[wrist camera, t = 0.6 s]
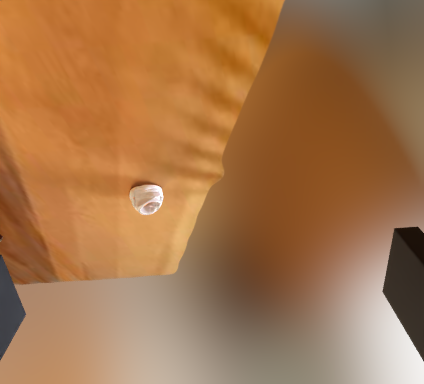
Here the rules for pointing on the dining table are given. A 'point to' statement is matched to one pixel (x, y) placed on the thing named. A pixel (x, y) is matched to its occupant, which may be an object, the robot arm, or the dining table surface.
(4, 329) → the robot arm
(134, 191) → the white rounded lump
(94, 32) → the dining table surface
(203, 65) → the dining table surface
